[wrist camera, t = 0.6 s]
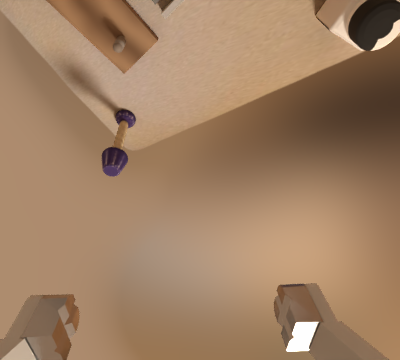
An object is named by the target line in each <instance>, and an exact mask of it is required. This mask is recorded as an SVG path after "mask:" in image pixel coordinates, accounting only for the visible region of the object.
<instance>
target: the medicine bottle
mask: <svg viewBox="0 0 400 360" xmlns="http://www.w3.org/2000/svg"><path fill="white" fill-rule="evenodd" d="M316 18H317V19H318V20H319V21H320V22H321V23H322V24H323V25H324V26H325V27H326V28H328V29H329V30H330V31H331V32H333V33H334V34H336V35H337V36H339V37H340V38H342V39H343V40H345V41H346V42H348V43H349V44H351V45H353V46H354V47H356V48H357V49H359V50H361V51H363V50H366V51H373V50H377V49H380V48H382V47H384V46H386V45H387V44H389V43H390V42H391V41H392V40H393V39H394V38H395V37H396V36H397V35H398V34H399V32H400V0H326V1H325V3H324V4H323V6H322V7H321V8H320V10H319V11H318V13H317V14H316Z"/></svg>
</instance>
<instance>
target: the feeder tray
mask: <svg viewBox="0 0 400 360" xmlns="http://www.w3.org/2000/svg"><path fill="white" fill-rule="evenodd" d="M183 1H184V0H172V1H171V2H170V3H169V4H168V5H167V6H166V7H165V8H164V9H163V10H162V13H161V15H162V16H163V17H164V19H165V20H166V19H167V18H168V17H169V16H170V15H171V14H172V13H173V12H174V10H175V9H176V8H177V7H178V6H179V5H180V4H181V3H182V2H183Z"/></svg>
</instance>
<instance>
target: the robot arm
mask: <svg viewBox="0 0 400 360" xmlns="http://www.w3.org/2000/svg"><path fill="white" fill-rule="evenodd" d="M277 292H278V296H277V297H275V301H274V311H275V316H276V319H277V322H278V323H279V324H280V325H281V326H282V327H283V328H282V332H281V335H282V338H283V340H284V344H285V347H286V350H287V351H296V350H309V353H310V354H311V355H312V356H313V357H314V358H315V359H316V360H389V359H388V358H387V357H385V356H384V355H383V354H381V353H380V352H379V351H378V350H377V349H375V348H374V347H373V346H372V345H370V344H369V343H368V342H367V341H365V340H364V339H363V338H361V337H360V336H359V335H358V334H357V333H355V332H354V331H353V330H352V329H350V328H349V327H348V326H347V325H345V324H344V323H343V322H340V321H337V319H336V317H335V315H334V314H333V312H332V310H331V308H330V306H329V304H328V302H327V301H326V299H325V297H324V295H323V293H322V291H321V290H320V288H319V286H318V285H317V284H315V283H311V284H288V285H279V286H278V288H277ZM74 302H75V298H74V295H73V294H68V295H67V294H66V295H31V296H30V297H29V298H28V299H27V300H26V301H25V303H24V305H23V307H22V309H21V310H20V312H19V314H18V316H17V317H16V319H15V321H14V323H13V324H12V326H11V328H10V330H9V331H8V333H7V335H6V337H5V338H4V339H0V360H67V357H68V354H69V351H70V348H71V342H70V338H71V337H72V336H73V335H74V334H75V333H76V330H77V327H78V323H79V309H78V307H77V306H75V305H74Z"/></svg>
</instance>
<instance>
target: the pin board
mask: <svg viewBox="0 0 400 360" xmlns="http://www.w3.org/2000/svg"><path fill="white" fill-rule="evenodd" d="M47 1H48V2H49V3H50V4H51V5H52V6H53V7H54V8H55V9H56V10H57V11H58V12H59V13H60V14H61V15H62V16H63V17H65V18H66V19H67V20H68V21H69V22H70V23H71V24H72V25H73V26H74V27H75V28H76V29H77V30H78V31H79V32H80V33H82V34H83V35H84V36H85V37H86V38H87V39H88V40H89V41H90V42H91V43H92V44H93V45H94V46H95V47H96V48H97V49H99V50H100V51H101V52H102V53H103V54H104V55H105V56H106V57H107V58H108V59H109V60H110V61H111V62H112V63H113V64H114V65H115V66H117V67H118V68H119V69H120V70H121V71H122V72H123V73H125V72H126V71H127V70H128V69H129V68H131V67H132V66H133V65H134V64H135V63H136V62H137V61H138V60H139V59H140V58H141V57H142V56H143V55H144V54H145V53H146V52H147V51H148V50H149V49H150V48H151V47H152V46H153V45H154V44H155V43H156V42H157V41H158V37H157V36H156V35H155V34H154V33H153V32H152V30H151V29H150V28H149V27H148V26H147V25H146V24H145V22H144V21H143V20H142V19H141V18H140V17H139V16H138V14H137V13H136V12H135V11H134V10H133V9H132V8H131V6H130V5H129V4H128V3H127V2H126V1H125V0H47Z"/></svg>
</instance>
